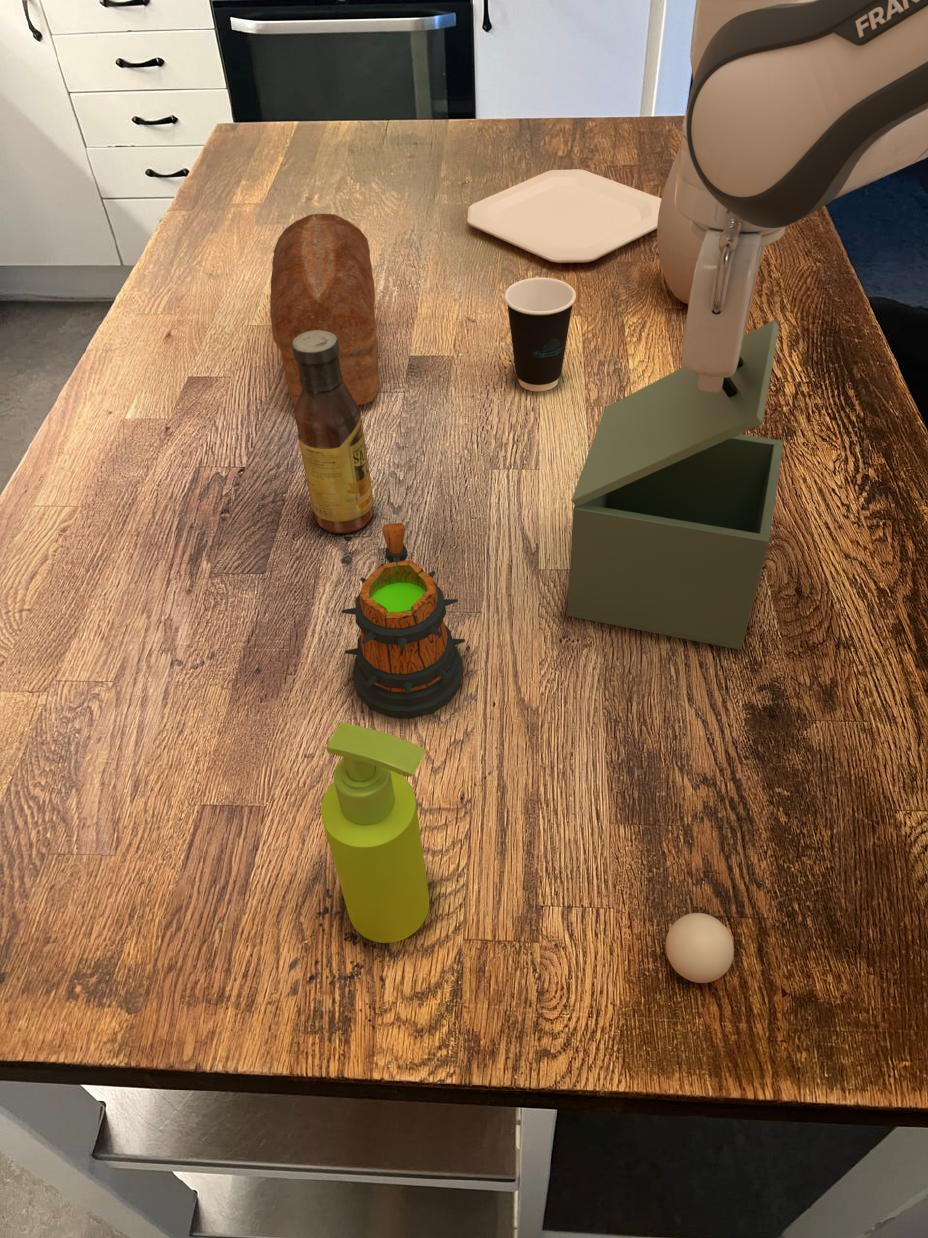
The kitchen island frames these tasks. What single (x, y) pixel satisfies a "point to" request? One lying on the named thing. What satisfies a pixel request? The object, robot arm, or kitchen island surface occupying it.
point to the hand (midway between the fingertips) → (715, 363)
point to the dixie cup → (539, 329)
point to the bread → (326, 298)
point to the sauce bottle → (331, 437)
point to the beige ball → (699, 948)
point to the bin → (679, 545)
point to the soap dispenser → (376, 832)
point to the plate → (567, 215)
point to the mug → (403, 637)
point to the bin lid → (677, 420)
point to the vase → (676, 241)
